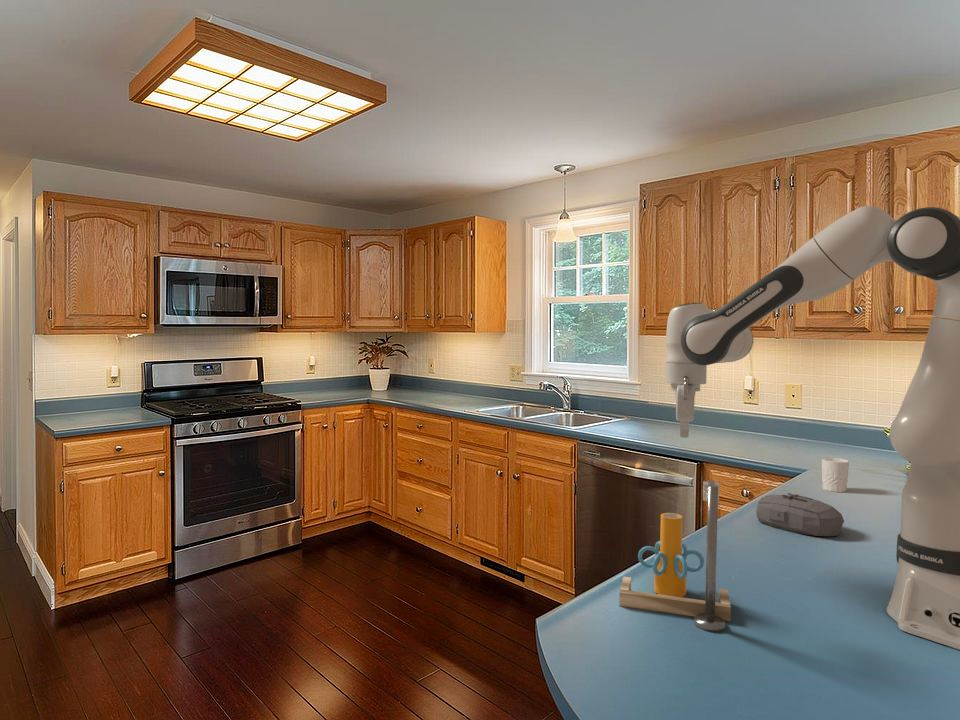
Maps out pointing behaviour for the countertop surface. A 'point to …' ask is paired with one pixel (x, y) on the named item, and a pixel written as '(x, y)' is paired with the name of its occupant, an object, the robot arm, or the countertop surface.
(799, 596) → the countertop surface
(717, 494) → the round-based metal post
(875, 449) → the countertop surface
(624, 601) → the yoke
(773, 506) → the grey rounded bag
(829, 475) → the white cup
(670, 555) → the vase
